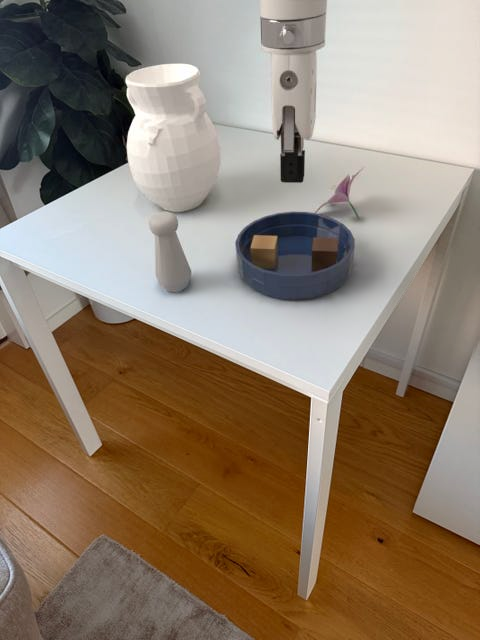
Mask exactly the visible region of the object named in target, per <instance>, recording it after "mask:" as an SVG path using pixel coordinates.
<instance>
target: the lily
mask: <svg viewBox="0 0 480 640" xmlns="http://www.w3.org/2000/svg"><path fill="white" fill-rule="evenodd" d="M364 169H365V166H363V167H361V169H359V170H358V171H357V172H356V173H355V174H353V175H351V176H350V174H348V175H347V176H345V177H344V179H342V180H341V181H340V183H339V184H338V185H337V186H336V184H335V185H333V186H332V187H330V189H331V190H334V194H333V195H332V196H331V197H330V198H329V199H328V201H326V202H324V203H323V204H321V205H320V206H319V207H318V208H316V210H315V211H314V213H316V214H317V213H318V211H320V210H321V208H323V207H324V206H327V205H329V204H330V205H332V204H338V203H347V204H349V205H350V207H351V209H352V210H353V212H354V214H355V216H356V218H357V220H360V216H359V215H358V212H357V211H356V209H355V207H354V205H353V203H351V200H350V193H351V192H350V191H351V186H352V184H353V182H354V180H355V178H356V177H357V176H358V175H359V173H361V171H362V170H364Z"/></svg>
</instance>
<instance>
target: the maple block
mask: <svg viewBox="0 0 480 640" xmlns="http://www.w3.org/2000/svg"><path fill="white" fill-rule="evenodd" d="M250 251H251V263H252V264H253V265H255V266H257V267H260V268H264V269H275V267H276V262H277V258H278V236H264V235H254V237H253V241H252V244H251V248H250Z"/></svg>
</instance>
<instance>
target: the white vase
mask: <svg viewBox="0 0 480 640" xmlns="http://www.w3.org/2000/svg"><path fill="white" fill-rule="evenodd" d="M200 81H201V71H200V70H199V69H198V67H196V66H194V65H192V64H190V63H164V64H163V63H162V64H156V65H151V66H146V67H142V68H139V69H136V70H133V71H131V72H130V73H128V74H127V75H126V77H125V84H126V86H127V88H126V98H127V101H128V102H129V104H130V106H131V108H132V109H133V112H134V115H135V116H134V117H133V119H132V122H131V124H130V126H129V129H128V132H127V139H126V140H127V141H126V155H127V162H128V166H129V169H130V173H131V176H132V179H133V182H134V183H135V185H136V186H137V188H138V189H139V191H140V192H141V193H142V194H143V195H144V196H145V197H146V198H147V199H148V200H149V201H151V202H153V203H155V204H156V205H157V206H158V207H160V208H161V209H163V210H165V211H166V212H171V213H182V212H187V211H192V210H193V209H196V208H198V207H199V206H201V204H202V203H203V202H204V200H205V199H207V196H208V194H210V192H211V190H212V188H213V187H214V185H215V183H216V181H217V179H218V177H219V172H220V169H221V147H220V146H221V145H220V142H219V138H218V133H217V130H216V128H215V127H216V126H215V125H214V123H213V122H212V120H211V118H210V116H209V115H208V113H207V112H206V110H207V100H206V96H205V94H204V93H203V91H202V90H201V89H200V87H199V86H200Z"/></svg>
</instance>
